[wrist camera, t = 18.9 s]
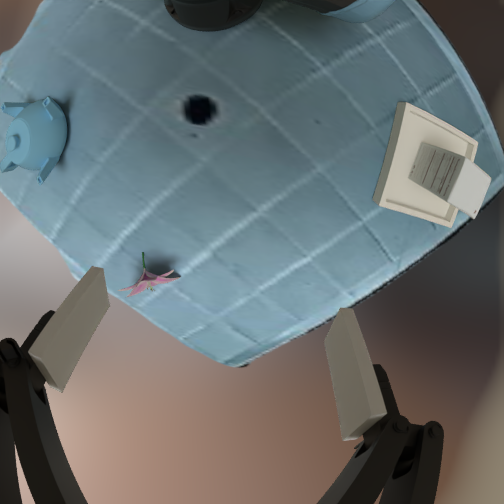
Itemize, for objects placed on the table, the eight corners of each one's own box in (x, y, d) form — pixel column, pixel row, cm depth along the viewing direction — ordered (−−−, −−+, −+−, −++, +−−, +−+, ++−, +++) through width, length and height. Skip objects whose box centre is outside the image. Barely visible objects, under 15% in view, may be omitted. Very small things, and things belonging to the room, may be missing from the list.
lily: (128, 278, 54) (130, 318, 49) (108, 243, 45) (107, 288, 39) (180, 266, 57) (187, 306, 51) (170, 229, 47) (176, 273, 42)
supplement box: (448, 158, 37) (493, 178, 26) (434, 193, 40) (475, 221, 29) (420, 140, 36) (466, 155, 25) (406, 177, 40) (447, 203, 29)
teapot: (30, 95, 32) (-7, 100, 23) (79, 94, 34) (40, 97, 25) (24, 163, 40) (-10, 179, 30) (70, 172, 41) (34, 190, 32)
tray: (397, 102, 34) (406, 102, 32) (468, 139, 35) (478, 142, 33) (372, 199, 43) (378, 205, 40) (443, 221, 44) (451, 227, 41)
